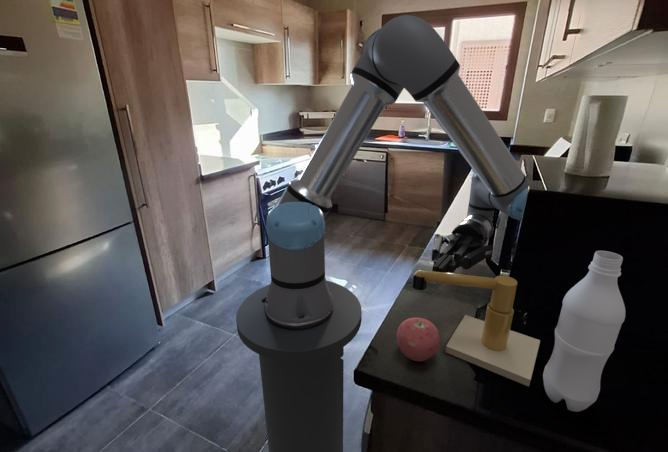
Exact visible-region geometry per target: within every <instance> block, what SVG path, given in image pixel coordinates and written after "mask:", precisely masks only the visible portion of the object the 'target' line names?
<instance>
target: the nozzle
mask: <svg viewBox="0 0 668 452" xmlns="http://www.w3.org/2000/svg"><path fill="white" fill-rule="evenodd" d="M428 283H435V284H444V285H450V286H451V285H453V286H461V287H469V288H471V287H472V288H478V289H485V290H491V296H490V301H489V303H490V306H491V307H492V308H493V309H494V310H496V311H499V312H503V313H507V312H510V311H512V308H513V307H514V301H515V297H516V291H517V287H518V281H517V280H516V279H515V278H513V277H511V276H508V275H497V276H495V277H488V276H479V275H469V274H461V273H454V272H453V273H450V272H448V273H443V272H434V271H432V270H424V269H418V270H416V271H413V273H412V280H411V288H413V289H414V290H416V291H425V290H426V289H427V284H428Z"/></svg>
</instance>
